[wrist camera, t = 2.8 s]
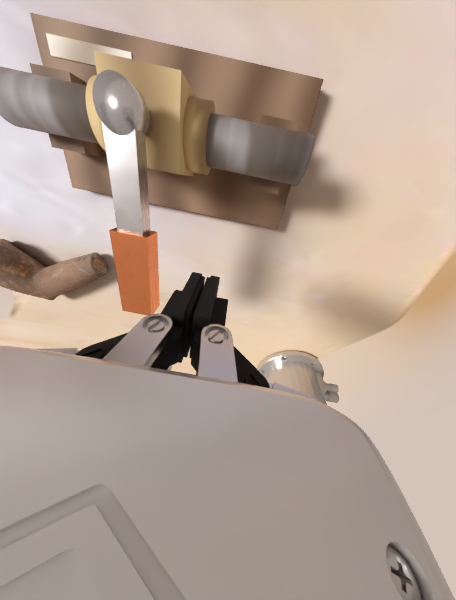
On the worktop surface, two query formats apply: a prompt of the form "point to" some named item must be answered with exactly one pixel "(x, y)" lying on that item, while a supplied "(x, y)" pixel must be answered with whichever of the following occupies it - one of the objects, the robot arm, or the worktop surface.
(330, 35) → the worktop surface
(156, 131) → the valve stand
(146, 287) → the valve lever
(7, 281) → the pipe
